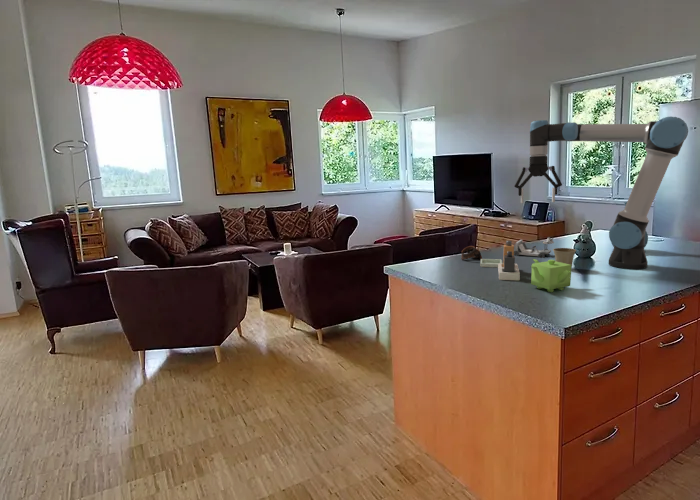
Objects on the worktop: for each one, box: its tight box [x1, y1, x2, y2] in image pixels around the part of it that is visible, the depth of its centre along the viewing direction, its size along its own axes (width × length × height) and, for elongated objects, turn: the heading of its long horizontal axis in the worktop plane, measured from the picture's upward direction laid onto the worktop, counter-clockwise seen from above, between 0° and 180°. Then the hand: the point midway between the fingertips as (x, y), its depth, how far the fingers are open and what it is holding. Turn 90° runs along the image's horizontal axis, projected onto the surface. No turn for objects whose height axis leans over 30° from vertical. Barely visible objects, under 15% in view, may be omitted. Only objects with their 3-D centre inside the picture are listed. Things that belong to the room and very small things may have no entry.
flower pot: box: [552, 247, 577, 269], centre depth 211 cm, size 9×9×9 cm
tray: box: [479, 258, 503, 268], centre depth 222 cm, size 10×11×2 cm
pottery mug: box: [460, 245, 483, 261], centre depth 235 cm, size 12×10×8 cm
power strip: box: [497, 251, 521, 281], centre depth 203 cm, size 8×18×11 cm, turn 164°
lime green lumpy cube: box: [530, 258, 573, 293], centre depth 180 cm, size 15×14×11 cm
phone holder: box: [514, 236, 555, 259], centre depth 242 cm, size 18×10×12 cm
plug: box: [502, 240, 515, 267], centre depth 207 cm, size 4×5×14 cm
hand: (537, 202), depth 219 cm, fingers open, 13 cm apart
